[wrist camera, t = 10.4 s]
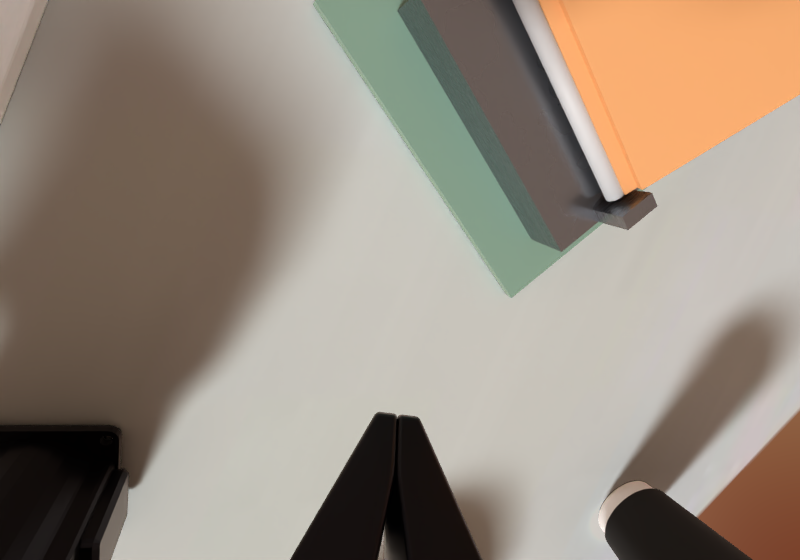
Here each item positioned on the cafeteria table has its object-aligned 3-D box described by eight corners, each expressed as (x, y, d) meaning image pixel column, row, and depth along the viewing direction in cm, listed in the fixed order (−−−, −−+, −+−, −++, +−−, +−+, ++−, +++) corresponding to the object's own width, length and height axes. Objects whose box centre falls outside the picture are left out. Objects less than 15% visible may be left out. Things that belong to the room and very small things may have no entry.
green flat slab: (505, 294, 24) (511, 297, 23) (312, 4, 17) (314, 0, 16) (815, 41, 24) (827, 39, 23) (746, -338, 17) (761, -353, 17)
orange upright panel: (614, 206, 18) (894, 36, 16) (504, -35, 14) (859, -312, 12) (598, 195, 20) (854, 37, 17) (492, -28, 16) (810, -276, 13)
